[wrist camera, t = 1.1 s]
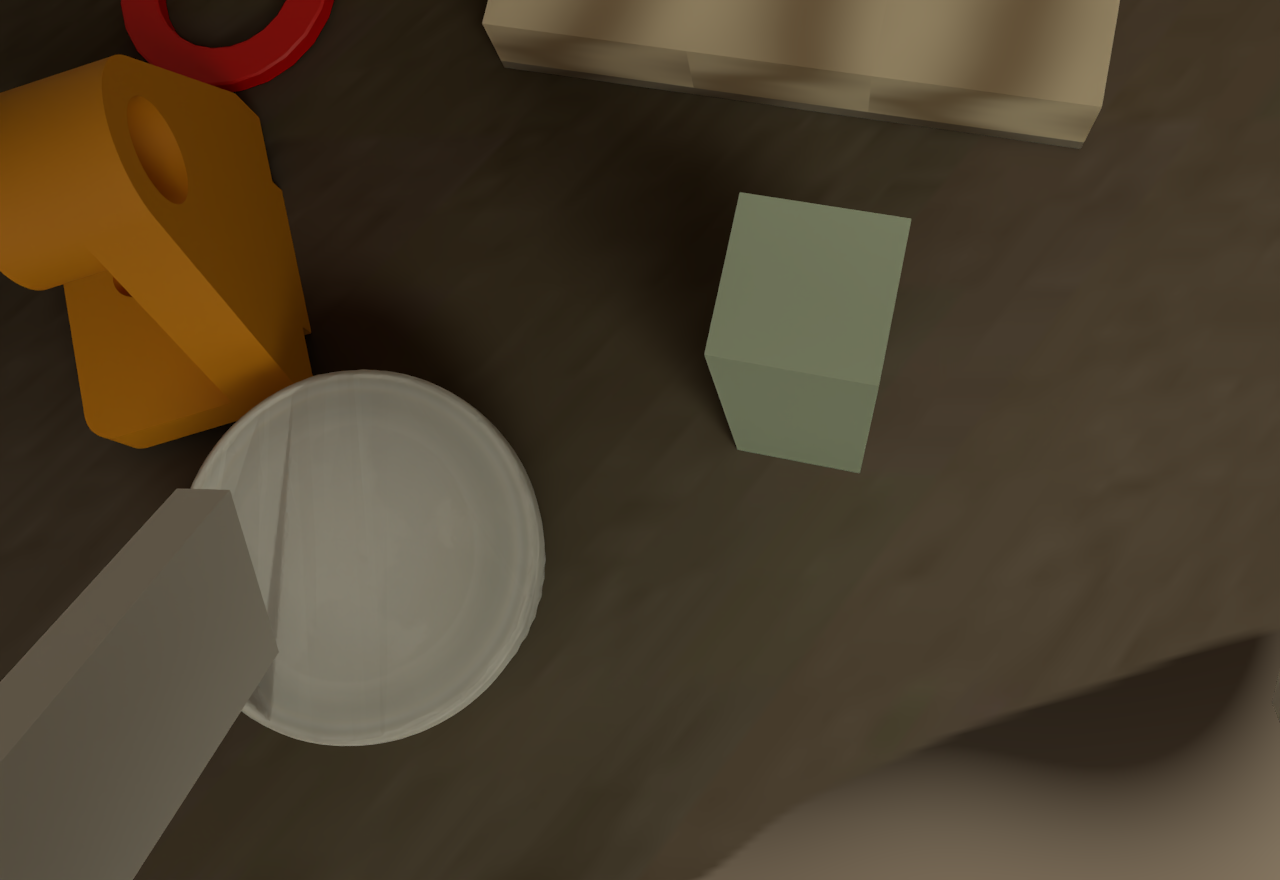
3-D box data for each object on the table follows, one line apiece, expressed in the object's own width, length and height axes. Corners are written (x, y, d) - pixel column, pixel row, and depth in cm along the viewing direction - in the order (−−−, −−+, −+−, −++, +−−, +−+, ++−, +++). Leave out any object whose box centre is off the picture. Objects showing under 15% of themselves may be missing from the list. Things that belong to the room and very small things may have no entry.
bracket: (87, 186, 45) (-170, 13, 33) (269, 127, 44) (72, -70, 32) (134, 459, 42) (-126, 377, 31) (326, 402, 42) (136, 296, 30)
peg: (737, 449, 39) (704, 354, 28) (762, 333, 40) (739, 192, 28) (859, 473, 38) (878, 386, 27) (882, 354, 39) (911, 218, 27)
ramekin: (197, 512, 42) (110, 489, 36) (470, 342, 41) (422, 296, 36) (341, 803, 39) (269, 823, 34) (634, 625, 39) (607, 617, 34)
